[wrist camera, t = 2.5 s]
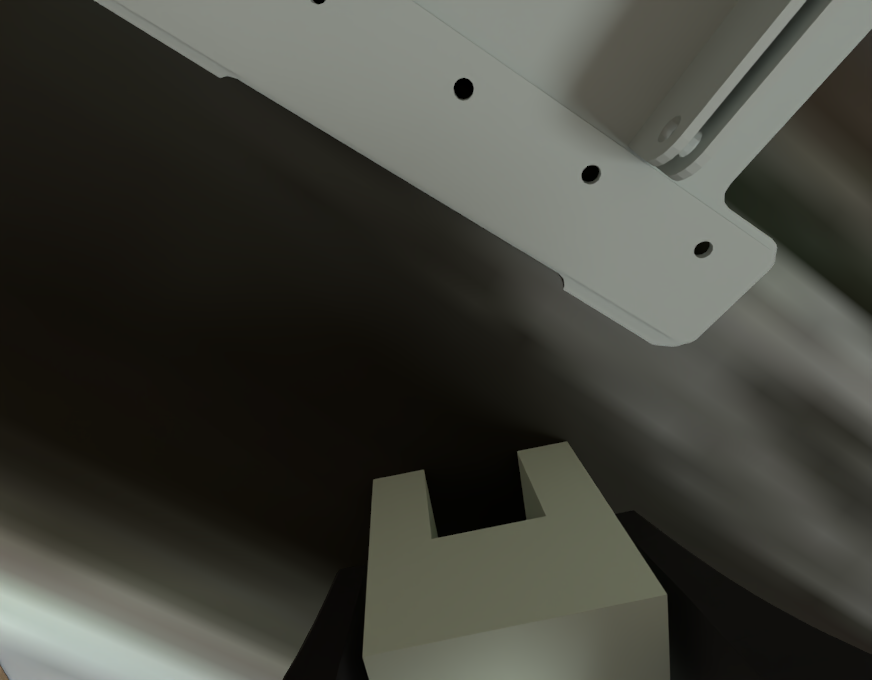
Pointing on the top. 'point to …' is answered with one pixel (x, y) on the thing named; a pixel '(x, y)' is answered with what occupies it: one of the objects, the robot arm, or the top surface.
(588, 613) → the slotted block
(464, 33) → the metal bracket
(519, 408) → the top surface
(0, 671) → the notched rail
